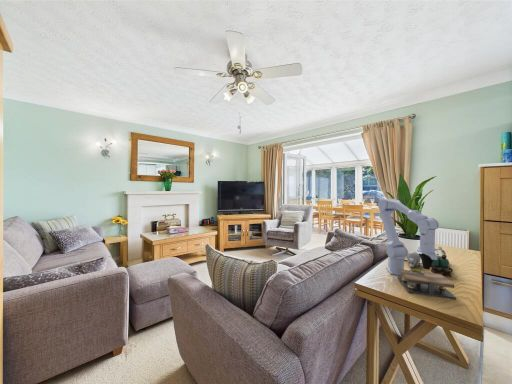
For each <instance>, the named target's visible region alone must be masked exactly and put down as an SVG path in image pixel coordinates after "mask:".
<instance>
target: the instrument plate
mask: <svg viewBox="0 0 512 384" xmlns="http://www.w3.org/2000/svg"><path fill="white" fill-rule="evenodd" d="M399 273H400V274H401V275H400V276H401V277H404V279H405V280H406V281H407V282H410V283H418V284H426V285H428V283H431V284H434V286H441V287H445V288H449V289H450V288H451V289H455V286H456V285H455V284H454V283H452V281H450V280H449V279H448V278H446V277H445V276H444V275H442V273H441V274H435V273H434V272H425V271H422V269H417V268H415V269H414V268H410V269H409V270H407V269H404V270H400V269H399Z"/></svg>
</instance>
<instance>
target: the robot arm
mask: <svg viewBox="0 0 512 384" xmlns="http://www.w3.org/2000/svg"><path fill="white" fill-rule="evenodd" d="M377 206H378V210H379V215H380V219H381V221H382V225H383V228H384V231H385V235H386V238H387V240H388V242H387V243H386V244H385V247H386V248H385V249H386V250H385V251H386V252H385V253H386V255H387V256H388V258H387V266H386V271H388V272H389V274H390V275H396V276H402V275H401V274H400V273H399V269H400V270H405V259H406V258H407V257H406V256H407V255H408V252H409V250H408V249H407V247H406V245H405V244H404V242H402V241H401V240H400V239H399V235H398V234H397V233H398V232H397V230H396V227H395V222H394V220H393V218H392V213H394V212H395V211H396V210H397V211H398V212H400V213H402V214H404V215H406V217H407V219H408V220H410V221H412V222H413V223H414V224H416V226H417V227H418V231H419V234H420V235H419V246H418V249H416V251H417V253H418V254H419V256H420V261H421V263H422V267H423V269H424V270H430V271H431V269H432V268H431V265H432V263H433V261H434V260H437V256H436V253H435V248H436V230H437V229H438V228H439V225H440V223H439V221H438V220H436V219H435V218H434V217H432V218H431V217H428V216H427V215H425V214H422V213H421V212H420V210H419V209H418V210H417V209H411V208H409V207H408V206H406V205H405V204H403V203H402V202H401V200H399V199H398V198H381V199H379V201H378V203H377Z"/></svg>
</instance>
